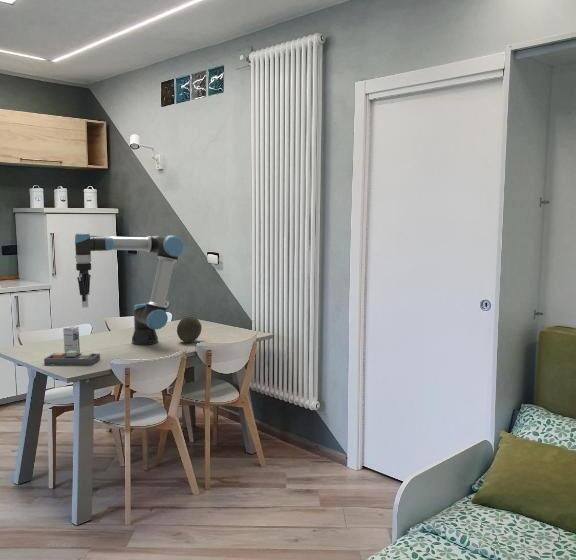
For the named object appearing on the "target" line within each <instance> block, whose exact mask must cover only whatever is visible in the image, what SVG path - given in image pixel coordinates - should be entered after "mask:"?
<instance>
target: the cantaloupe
mask: <svg viewBox="0 0 576 560" xmlns="http://www.w3.org/2000/svg"><path fill="white" fill-rule="evenodd" d="M201 332H202V323H201V321H200V320H199V319H198V318H196V317H194V316H185V317H183V318H181V319H180V321H179V322H178V323H177V328H176V334H177V337H178V338H179V340H181V341H182V342H184V343H186V344H190V342H191V343H193V342H194V341H196V340H197V339H198V338H199V337H200V335H201Z"/></svg>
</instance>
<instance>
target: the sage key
mask: <svg viewBox="0 0 576 560" xmlns="http://www.w3.org/2000/svg"><path fill="white" fill-rule="evenodd" d="M77 355H78V351H68V352H67V353H66V356H67V357H75V356H77Z"/></svg>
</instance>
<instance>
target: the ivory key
mask: <svg viewBox="0 0 576 560" xmlns="http://www.w3.org/2000/svg"><path fill="white" fill-rule="evenodd" d="M82 353H83V352H82ZM91 357H92V353H91V352H89V353H88V352H87V353H86V352H84V353H83V354H81V355H80V358H83V359H84V358H88V359H90V358H91Z"/></svg>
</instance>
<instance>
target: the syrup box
mask: <svg viewBox="0 0 576 560" xmlns="http://www.w3.org/2000/svg"><path fill="white" fill-rule="evenodd" d="M79 330H80V329H79V326H77V325H76V326H75V325H73V326H67V327H63V328H62V332H63V345H64V346H63V348H64V350H63V351H64V353H67V352H68V351H78V353H81V350H80V331H79Z"/></svg>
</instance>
